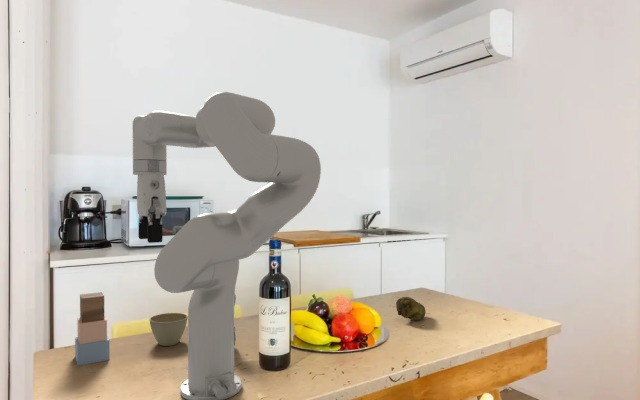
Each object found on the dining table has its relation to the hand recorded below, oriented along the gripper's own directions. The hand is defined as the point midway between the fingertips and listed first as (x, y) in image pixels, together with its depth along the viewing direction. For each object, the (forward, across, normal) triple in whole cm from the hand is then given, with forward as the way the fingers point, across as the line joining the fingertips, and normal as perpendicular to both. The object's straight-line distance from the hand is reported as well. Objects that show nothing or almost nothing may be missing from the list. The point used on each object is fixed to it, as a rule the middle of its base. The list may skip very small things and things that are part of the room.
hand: (150, 240), depth 107 cm
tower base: (+30, +14, +11) cm, 35 cm away
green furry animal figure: (+31, -5, -81) cm, 87 cm away
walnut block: (+20, +14, +11) cm, 27 cm away
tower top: (+25, +14, +11) cm, 31 cm away
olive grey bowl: (+31, +15, -8) cm, 35 cm away
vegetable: (+31, +2, -20) cm, 37 cm away
